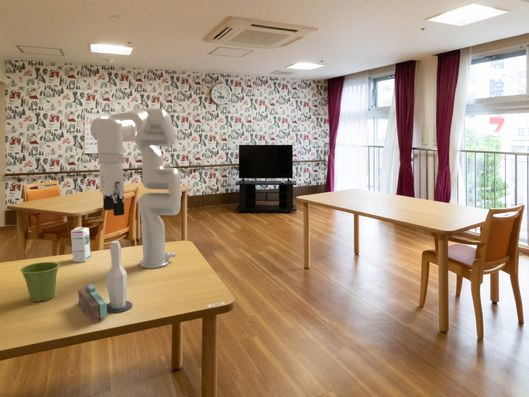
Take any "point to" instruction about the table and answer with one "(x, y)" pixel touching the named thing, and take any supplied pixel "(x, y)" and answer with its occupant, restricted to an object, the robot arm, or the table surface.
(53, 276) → the plant pot
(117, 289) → the white bottle
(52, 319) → the table surface
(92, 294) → the bar
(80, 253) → the syrup box
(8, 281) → the table surface
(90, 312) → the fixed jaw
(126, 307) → the dark grey disc
